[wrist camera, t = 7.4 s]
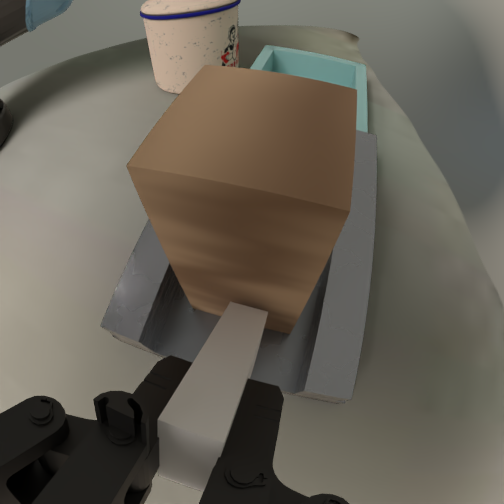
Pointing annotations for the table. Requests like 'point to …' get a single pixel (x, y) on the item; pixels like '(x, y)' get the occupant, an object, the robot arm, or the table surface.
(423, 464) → the table surface
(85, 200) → the table surface
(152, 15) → the teacup with lid
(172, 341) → the slot board
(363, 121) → the tray
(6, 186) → the table surface
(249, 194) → the block
